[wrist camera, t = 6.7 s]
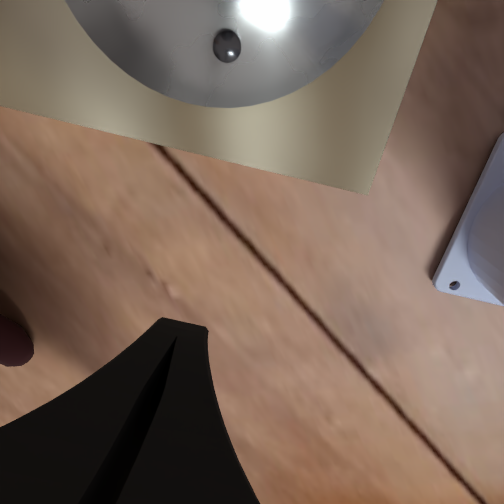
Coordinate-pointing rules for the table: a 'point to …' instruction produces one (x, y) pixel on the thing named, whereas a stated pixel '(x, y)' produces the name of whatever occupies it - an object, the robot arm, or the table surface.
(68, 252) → the table surface
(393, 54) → the post base
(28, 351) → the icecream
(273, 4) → the grey turntable
